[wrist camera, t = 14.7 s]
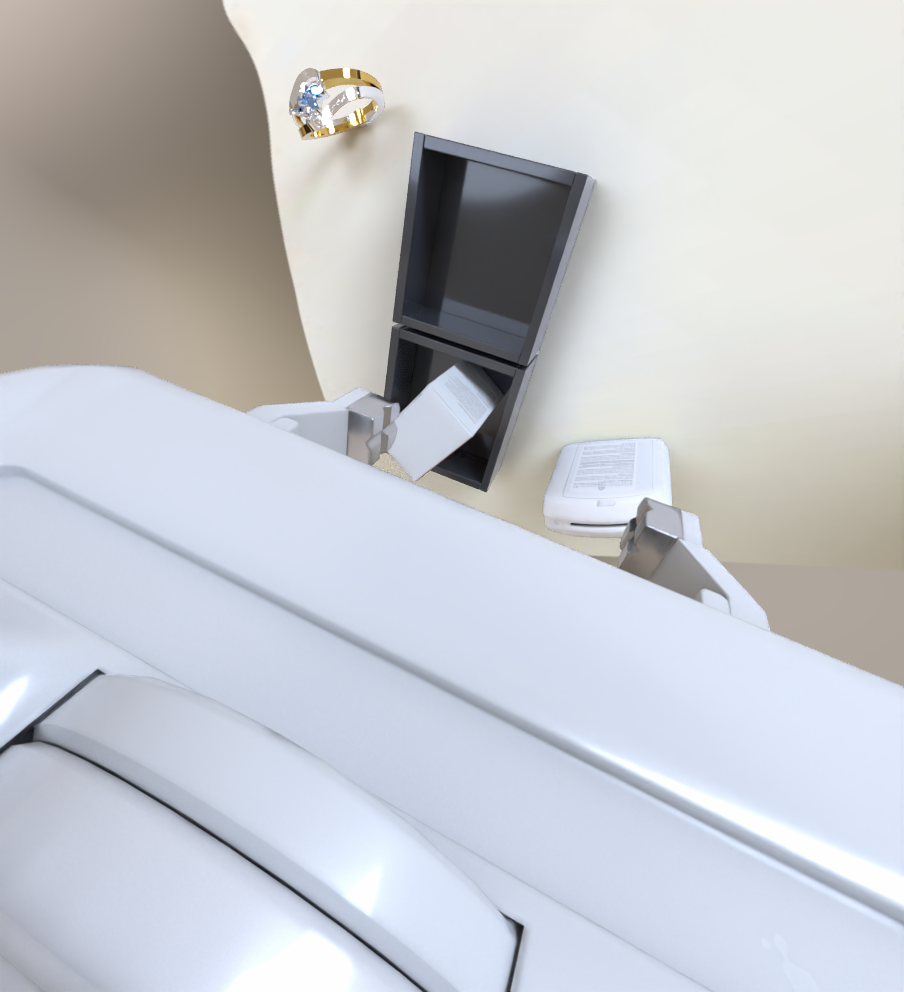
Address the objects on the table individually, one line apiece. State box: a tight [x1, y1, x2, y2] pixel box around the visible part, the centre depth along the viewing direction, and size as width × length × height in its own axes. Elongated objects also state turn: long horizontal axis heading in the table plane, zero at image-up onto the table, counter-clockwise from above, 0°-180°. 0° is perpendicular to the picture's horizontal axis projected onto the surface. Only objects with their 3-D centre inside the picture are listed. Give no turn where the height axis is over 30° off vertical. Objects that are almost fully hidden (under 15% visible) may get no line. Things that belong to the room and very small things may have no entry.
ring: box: [289, 68, 385, 140], centre depth 33 cm, size 7×3×8 cm, turn 103°
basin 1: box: [393, 132, 596, 366], centre depth 35 cm, size 13×13×6 cm
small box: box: [387, 359, 504, 481], centre depth 41 cm, size 8×6×10 cm
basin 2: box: [384, 324, 538, 492], centre depth 43 cm, size 13×13×6 cm
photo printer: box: [543, 438, 672, 538], centre depth 38 cm, size 10×4×12 cm, turn 104°
